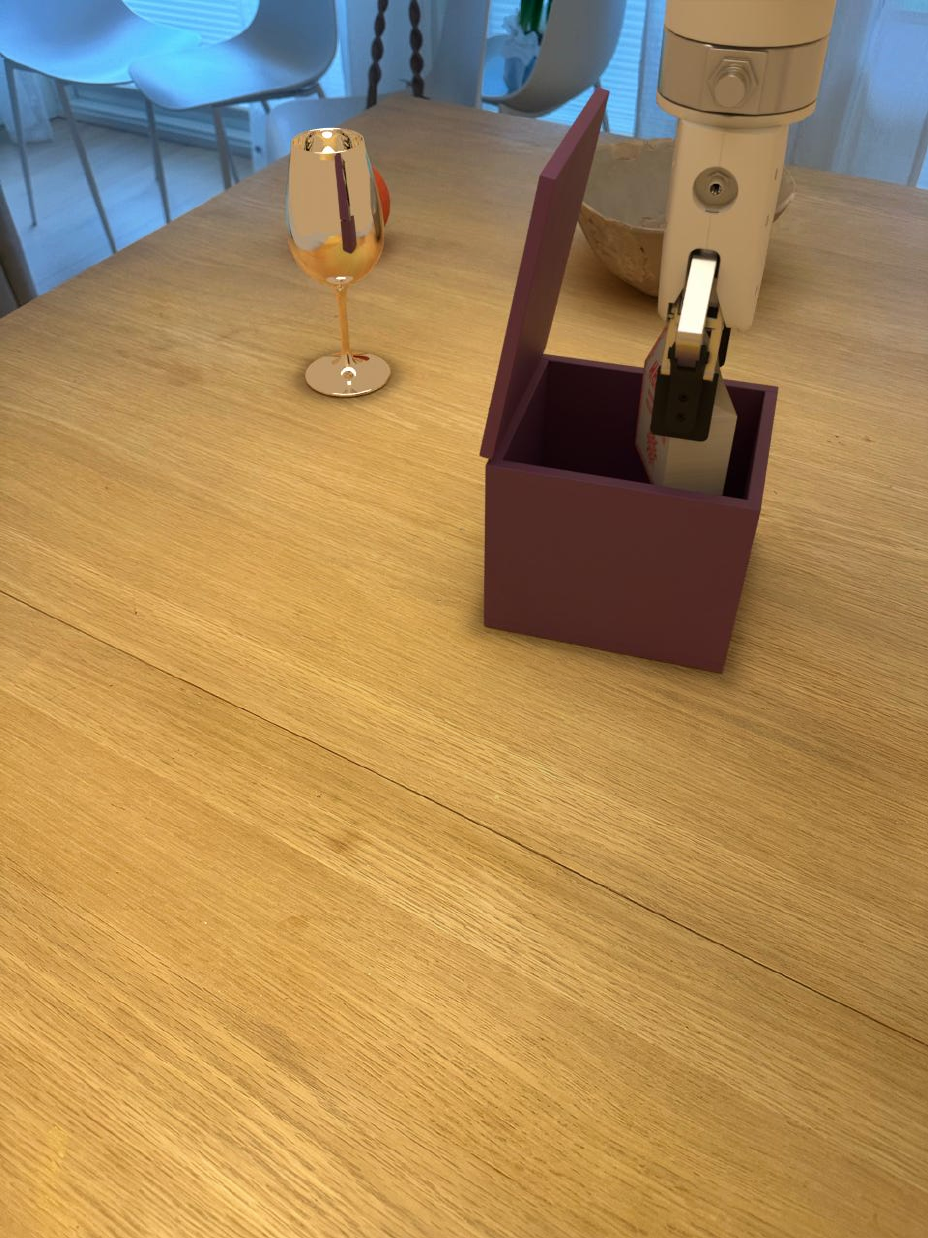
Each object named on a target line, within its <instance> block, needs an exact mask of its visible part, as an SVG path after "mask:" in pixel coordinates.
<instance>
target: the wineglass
mask: <svg viewBox="0 0 928 1238" xmlns="http://www.w3.org/2000/svg"><path fill="white" fill-rule="evenodd" d="M368 151H369V150H368V148H367V145H366V141H365V138H364V136H363V135H362V134H361V133H359V132H357V131H355V130H351V129H347V128H340V127H339V128H338V127H324V128H314V129H309V130H306V131H303V132H300V133H298V134H296V135H295V136H293V138H292V139H291V140H290V150H289V159H288V169H287V180H286V196H285V233H286V239H287V243H288V249H289V251H290V253H291V255H292V258H293V259H294V261H295V263H296V264H297V265H298V267H300V269H301V270H302V271H303V272H304V273H305V274H306V275H307V276H309V277H310V278H312V279H314V280H315V281H317V282H318V283H320V284H323V285H325V286H329V287H332V289H333V291H334V294H335V298H336V299H335V300H336V303H337V311H338V321H339V331H340V343H341V344H340V345H341V351H339V352H334V353H329V354H327V355H323V356H321V357H320V358H317V359H315V360H314V361H313V362H312V363H310V364H309V366H308V367H307V368H306V370H305V374H304V378H305V382H306V383H307V385H308V386H309V387H310V388H311V389H312V390H314V391H316V392H318V393H321V394H323V395H326V396H330V397H340V398H351V397H358V396H364V395H367V394H368V395H369V394H370V393H373V392H375V391H377V390H379V389H381V388H382V387H384V386H385V385H386V384H387V383H388V382H389V381H390V379H391V376H392V369H391V367H390V364H389V363H388V362H387V361H386V360H384V359H383V358H382V357H380V356H378V355H376V354H372V353H368V352H364V351H355V350H354V351H352V350H351V346H350V333H349V321H348V308H347V307H348V305H347V304H348V303H347V300H348V299H347V298H348V289H349V286H351V285H353V284H355V283H357V282H359V281H361V280H363V279H364V278H365V277H366V276H367V275H369V273H370V272H371V271H372V270H374V268H375V266H376V265H377V263H378V262H379V260H380V258H381V255H382V254H383V250H384V246H385V227H384V221H383V213H382V207H381V202H380V197H379V193H378V189H377V185H376V181H375V177H374V173H373V169H372V167H373V165H372V163H371V162H372V161H371V159H370V155H369V152H368Z"/></svg>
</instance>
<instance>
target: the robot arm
mask: <svg viewBox="0 0 928 1238" xmlns="http://www.w3.org/2000/svg"><path fill="white" fill-rule="evenodd" d="M837 2H838V0H665V10H664V11H665V12H664V21H663V31H662V40H661V49H660V57H659V66H658V74H657V75H658V77H657V87H656V94H655V103H656V105H657V106H658V108H660V109H661V110H662V111H663V112H665V113H667V114H669V115H671V116H673V117H675V118H677V121H676V130H675V138H674V139H675V143H674V151H673V158H672V166H671V175H670V183H669V191H668V200H667V209H666V218H665V228H664V237H663V247H662V258H661V270H660V283H659V296H658V297H657V298H658V299H657V314H658V315H659V316H660V317H659V318H661V319H662V320H663V321H664V322H665V323H668V321H669V326H668V331H667V337H666V343H665V348H664V354H663V360H662V365H661V366H659V367H658V371H657V379H656V387H655V394H654V402H653V410H652V418H651V425H650V431H651V432H652V434H654V435H658V436H665V437H671V438H678V439H685V440H692V441H698V442H703V441H705V440H707V439H708V435H709V431H710V425H711V419H712V413H713V408H714V402H715V396H716V390H717V385H718V379H719V374H718V373H714V372H715V367H716V362H717V356H718V359H719V367H720V368H723V367H724V366H725V364H726V359H727V355H728V348H729V342H730V339H731V338H730V337H731V332H732V331H731V330H732V329H737V332H739V333H742V332H745V331H746V330H748V329H749V328H750V327H751V326H752V324H753V322H754V318H755V315H756V314H755V313H756V309H757V304H758V299H759V296H760V295H759V294H760V289H761V284H762V279H763V276H764V270H765V266H766V260H767V256H768V250H769V246H770V245H769V244H770V240H771V236H772V231H773V225H774V223H773V221H774V215H775V210H776V204H777V199H778V194H779V189H780V184H781V178H782V172H783V166H785V159H786V152H787V147H788V146H787V145H788V140H789V139H788V138H789V131H790V130H789V129H790V125H791V124H795V123H799V122H801V121H803V120H805V119H806V118H808V117H810V116H811V115H812V114H813V113H814V112H815V110H816V105H817V101H818V100H817V99H818V95H819V90H820V86H821V80H822V76H823V71H824V65H825V62H826V61H825V60H826V56H827V50H828V46H829V42H830V36H831V30H832V25H833V21H834V15H835V11H836V6H837ZM681 301H682V303H683V306H682V311H681V313H679V312H680V306H681ZM704 330H705V331H706V332H707V334H708V336H709V338H710V342H709V347H708V352H707V345H702V342H703V335H704Z"/></svg>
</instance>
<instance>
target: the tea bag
mask: <svg viewBox="0 0 928 1238" xmlns="http://www.w3.org/2000/svg"><path fill="white" fill-rule="evenodd" d="M682 306H683V303H682V301H681V306H680V312H679V313H681V311H682ZM668 326H669V321H668V322H666V325H665V326H664V328H663V330H662V332H661V333H660V334H659V336H658V338H657V340H656V341H655V343H654V344H653V346H652V348H651V350H650V351H649V352H648V355H646V358H645V359H644V361H643V362H644V363H643V368H644V370H643V379H642V387H641V396H640V405H639V413H638V422H637V430H636V439H635V445H636V448H637V450H638V453H639V455H640V458H641V460H642V463H643V465H644V468H645V470H646V473H647V475H648V478H649V480H650V483H651V484H652V485H658V486H664V487H670V488H676V489H682V490H688V491H695V492H701V493H707V494H713V495H719V496H722V494H723V489H724V483H725V478H726V473H727V468H728V462H729V457H730V452H731V447H732V441H733V436H734V431H735V426H736V420H737V415H736V412H735V410H734V407H733V404H732V402H731V399H730V397H729V394H728V391H727V389H726V386H725V384H724V381H723V379H724V377H723V374H722V371H721V367H719V359H718V356H717V362H716V367H715V372H714V373H718V374H719V379H718V385H717V390H716V396H715V402H714V408H713V413H712V419H711V425H710V431H709V435H708V439H707V440H705V441H703V442H698V441H692V440H685V439H678V438H671V437H665V436H658V435H654V434H652V432H651V431H650V425H651V418H652V410H653V402H654V394H655V387H656V379H657V371H658V367H659V366H661V365H662V360H663V354H664V348H665V343H666V337H667V331H668ZM709 342H710V338H709V336H708V334H707V332H706V331H705V330H704V335H703V342H702V345H707V352H708V347H709Z"/></svg>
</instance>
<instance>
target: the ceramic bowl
mask: <svg viewBox="0 0 928 1238" xmlns="http://www.w3.org/2000/svg"><path fill="white" fill-rule="evenodd" d="M674 143H675V138H671V137H663V138H662V137H660V138H658V137H657V138H656V137H655V138H650V139H648V140H647V141H645V140H644V139H630V140H624V141H619V142H614V143H608V142H607V143H604V144H602V145H598V146H596V150H595V154H594V158H593V162H592V166H591V170H590V174H589V178H588V182H587V186H586V190H585V194H584V198H583V202H582V206H581V210H580V214H579V218H578V222H577V224H578V225H579V227H580V229H581V232H582V234H583V237H584V240H585V241H586V242H587V244H588V246H589V247H590V249H591V250H592V252H593V254H594V255H595V257H596V259H598V261H599V262H600V263H601V264H602V265H603V267H604V268H605V269H606V270H608V271H609V272H610V274H612V275H614V277H617V278H618V279H620V280H621V281H623V282H625V283H626V284H628V285H629V286H631V287H633V288H635V289H637V290H638V291H640V292H642V293H644V294H645V295H648V296H650V297H653V298H658V296H659V283H660V270H661V258H662V247H663V237H664V228H665V218H666V209H667V200H668V191H669V183H670V175H671V166H672V158H673V151H674ZM797 188H798V187H797V185H796V182H795V180H794V178H793V176H792V175H791V173H790V171H789V170H788V169H787V167H786V166H785V165H784V166H783V172H782V178H781V184H780V189H779V194H778V199H777V204H776V210H775V215H774V221H773V224H774V223H775V222H776V221H777V220H778V219H780V217H781V215H782V214H783V213H784V211H785V210H786V209H787V208H788V207H789V206H790V204H791V203H792V202H793V200H794V199H795V197H796V194H797V190H798V189H797Z"/></svg>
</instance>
